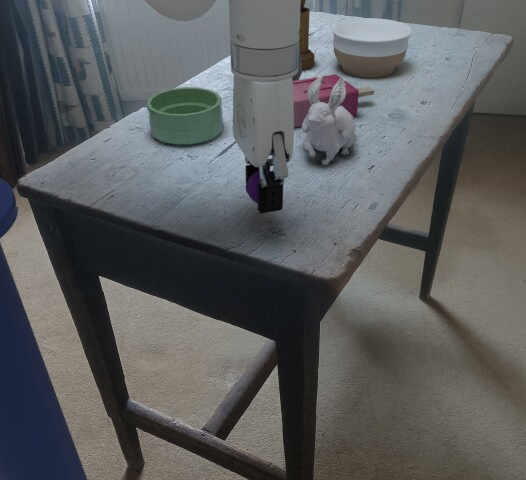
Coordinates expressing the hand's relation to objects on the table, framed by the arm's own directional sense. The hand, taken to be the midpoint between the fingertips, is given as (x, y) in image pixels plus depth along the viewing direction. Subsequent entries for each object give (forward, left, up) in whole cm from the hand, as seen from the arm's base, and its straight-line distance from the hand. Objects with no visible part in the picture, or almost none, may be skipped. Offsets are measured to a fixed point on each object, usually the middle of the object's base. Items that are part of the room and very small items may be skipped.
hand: (263, 199), depth 76 cm
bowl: (+39, +50, -4) cm, 64 cm away
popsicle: (+21, +32, -4) cm, 39 cm away
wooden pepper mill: (+26, +57, -4) cm, 63 cm away
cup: (+18, +45, -4) cm, 48 cm away
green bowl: (-4, +32, -3) cm, 32 cm away
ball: (0, 0, +2) cm, 2 cm away
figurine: (+16, +17, -4) cm, 24 cm away
